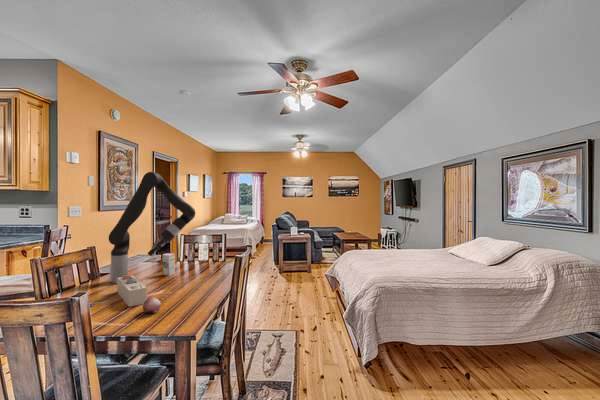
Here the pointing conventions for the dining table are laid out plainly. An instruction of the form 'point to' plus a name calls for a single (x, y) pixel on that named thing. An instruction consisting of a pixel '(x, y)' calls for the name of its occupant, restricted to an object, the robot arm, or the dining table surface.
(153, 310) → the onion
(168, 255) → the syrup box
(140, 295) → the block
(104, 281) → the dining table surface
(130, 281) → the slate button
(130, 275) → the terracotta button
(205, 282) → the dining table surface
